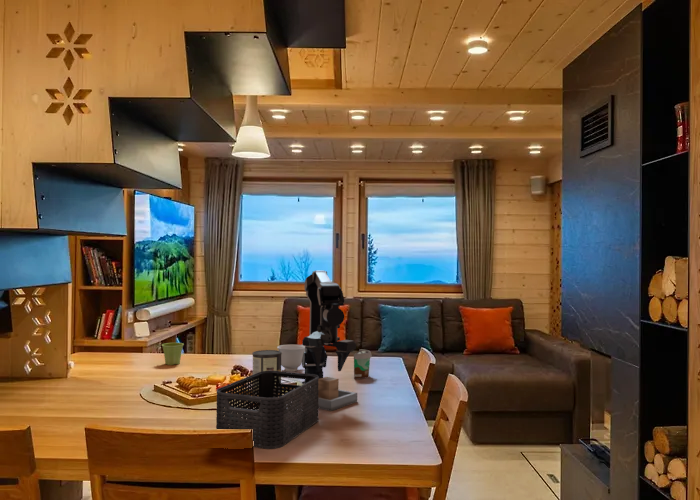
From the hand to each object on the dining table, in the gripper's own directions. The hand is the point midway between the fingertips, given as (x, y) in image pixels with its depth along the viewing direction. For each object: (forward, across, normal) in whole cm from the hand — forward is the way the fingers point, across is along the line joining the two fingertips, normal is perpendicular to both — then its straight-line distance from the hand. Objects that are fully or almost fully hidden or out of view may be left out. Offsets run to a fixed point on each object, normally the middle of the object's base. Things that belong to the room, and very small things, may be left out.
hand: (328, 369), depth 184 cm
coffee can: (+11, -26, -3) cm, 28 cm away
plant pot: (+11, -95, +8) cm, 96 cm away
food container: (+11, -14, +40) cm, 44 cm away
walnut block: (+10, 0, -1) cm, 10 cm away
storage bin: (+11, +6, -33) cm, 35 cm away
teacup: (+11, -45, +32) cm, 56 cm away
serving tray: (+11, 0, -1) cm, 11 cm away
